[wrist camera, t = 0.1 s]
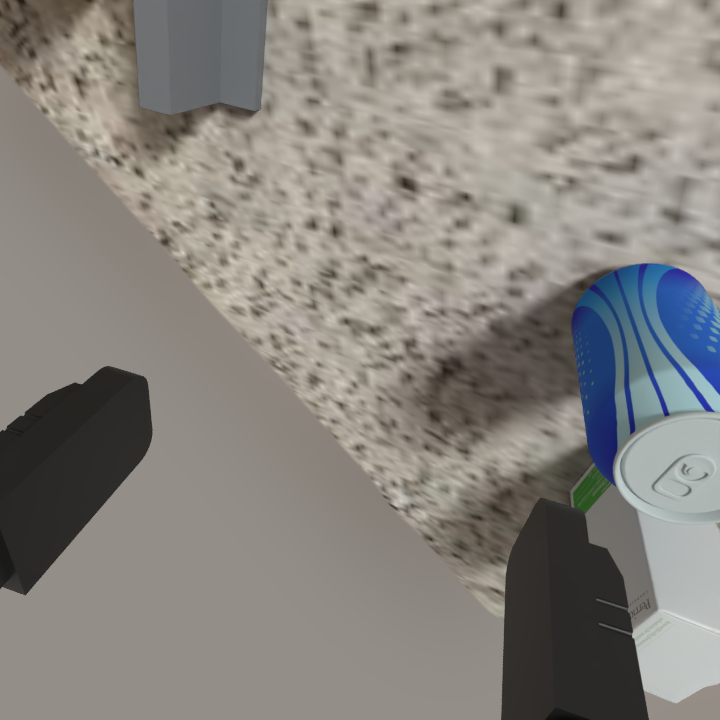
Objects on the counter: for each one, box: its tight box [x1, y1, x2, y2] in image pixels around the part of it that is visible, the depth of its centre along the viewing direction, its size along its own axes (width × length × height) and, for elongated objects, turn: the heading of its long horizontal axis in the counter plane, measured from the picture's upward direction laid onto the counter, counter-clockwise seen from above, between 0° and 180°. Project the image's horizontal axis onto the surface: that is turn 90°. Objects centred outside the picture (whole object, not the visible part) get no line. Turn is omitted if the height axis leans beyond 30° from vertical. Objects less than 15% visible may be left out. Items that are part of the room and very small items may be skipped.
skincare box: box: [570, 462, 720, 703], centre depth 38 cm, size 8×7×16 cm
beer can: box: [572, 263, 720, 525], centre depth 30 cm, size 8×8×16 cm
